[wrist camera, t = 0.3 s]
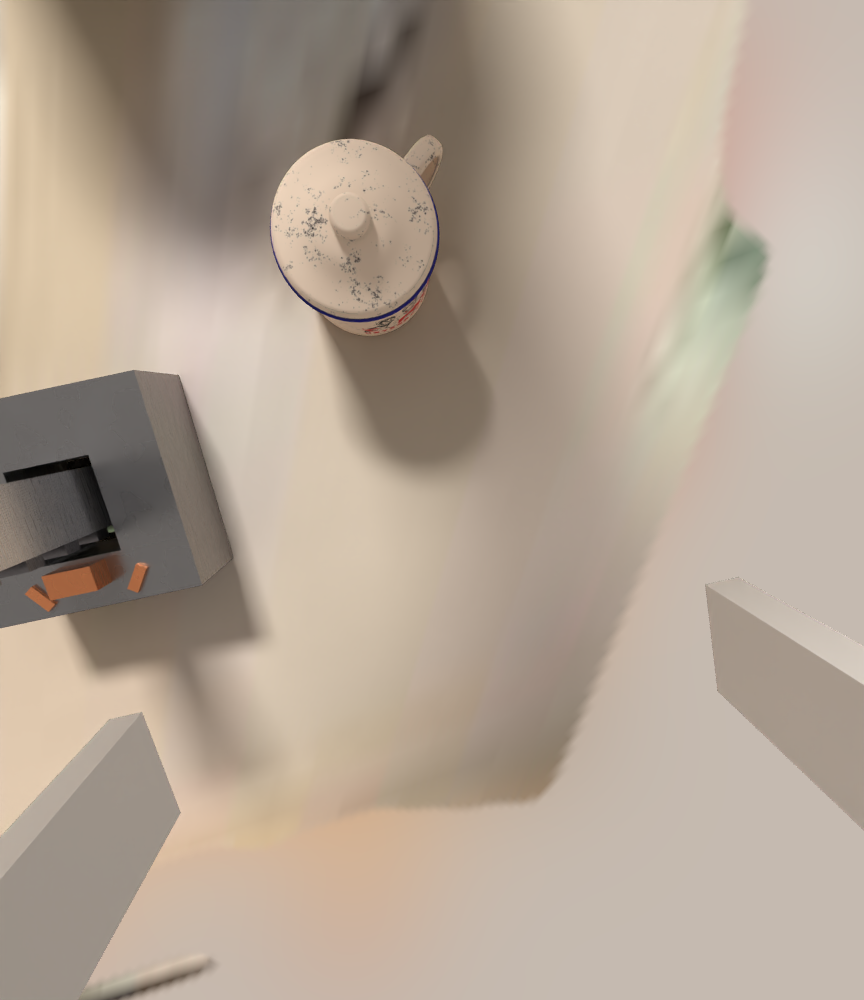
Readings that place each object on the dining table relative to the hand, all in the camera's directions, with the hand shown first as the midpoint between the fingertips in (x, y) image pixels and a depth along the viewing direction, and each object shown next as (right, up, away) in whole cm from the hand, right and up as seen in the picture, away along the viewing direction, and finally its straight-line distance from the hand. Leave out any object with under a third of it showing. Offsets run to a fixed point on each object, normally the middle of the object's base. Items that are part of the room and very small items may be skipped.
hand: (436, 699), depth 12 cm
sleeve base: (-24, +5, +26) cm, 36 cm away
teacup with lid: (-4, +22, +24) cm, 33 cm away
